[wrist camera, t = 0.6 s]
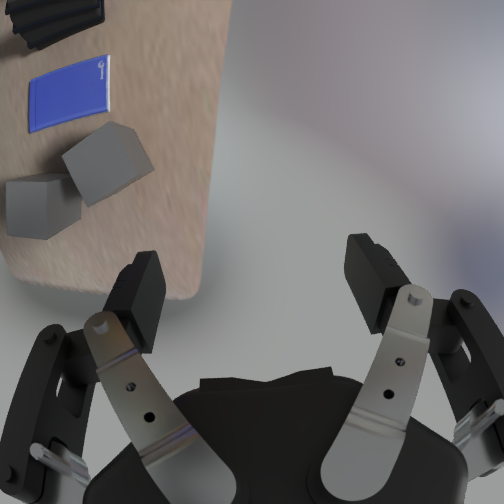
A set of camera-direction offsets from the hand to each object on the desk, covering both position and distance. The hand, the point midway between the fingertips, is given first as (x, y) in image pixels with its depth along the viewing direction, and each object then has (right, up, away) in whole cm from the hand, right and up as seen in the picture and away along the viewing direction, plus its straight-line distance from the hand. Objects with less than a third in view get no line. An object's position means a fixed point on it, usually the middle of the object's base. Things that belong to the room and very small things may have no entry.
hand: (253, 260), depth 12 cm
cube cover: (-25, +8, +20) cm, 34 cm away
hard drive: (-24, +21, +17) cm, 36 cm away
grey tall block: (-16, +12, +21) cm, 29 cm away
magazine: (-24, +32, +13) cm, 42 cm away
